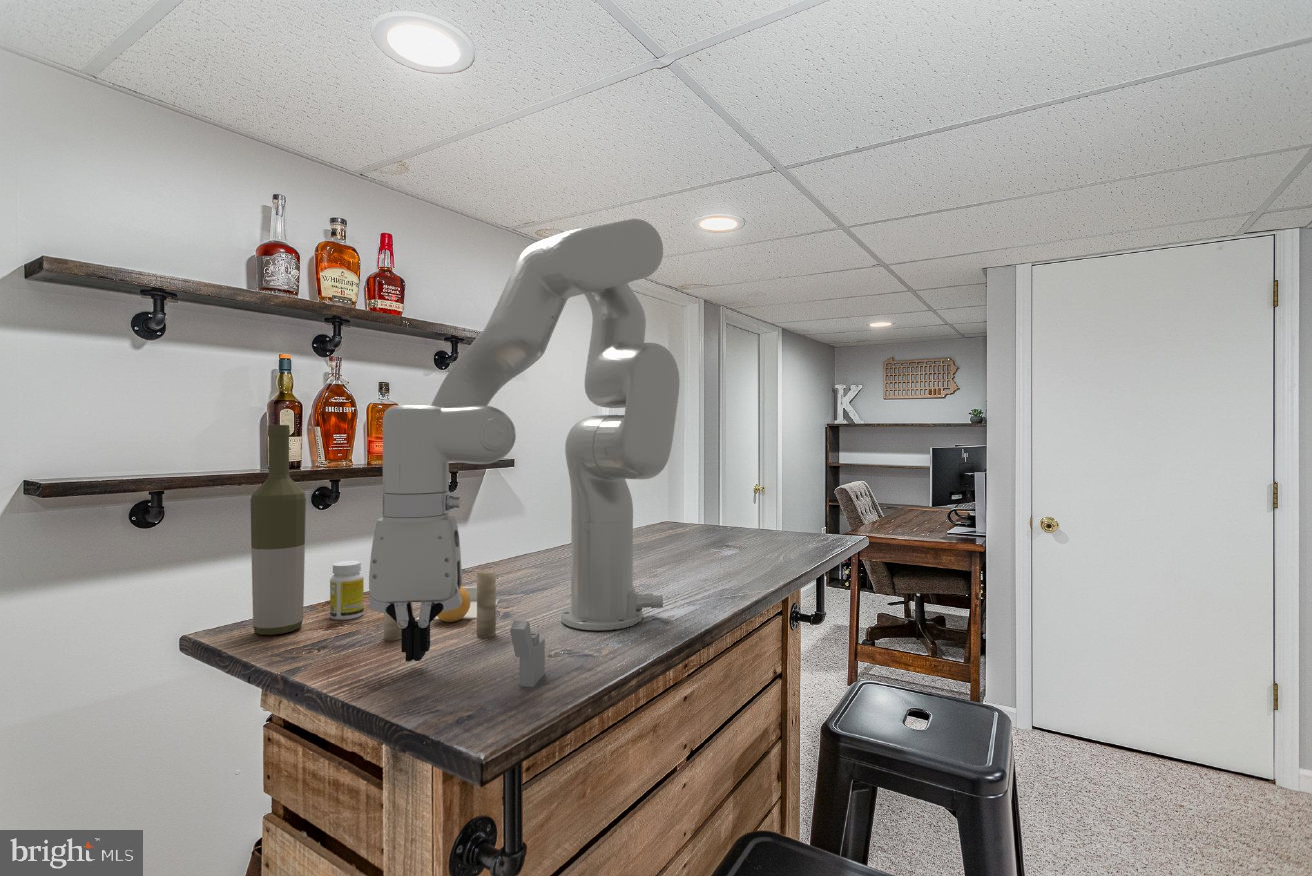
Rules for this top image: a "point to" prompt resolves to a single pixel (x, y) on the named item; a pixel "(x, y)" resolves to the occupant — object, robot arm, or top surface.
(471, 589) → the stopper rail
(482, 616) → the post
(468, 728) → the top surface
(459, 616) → the ball
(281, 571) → the bottle
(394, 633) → the post
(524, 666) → the lighter
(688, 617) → the top surface
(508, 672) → the top surface
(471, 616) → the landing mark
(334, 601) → the supplement bottle
